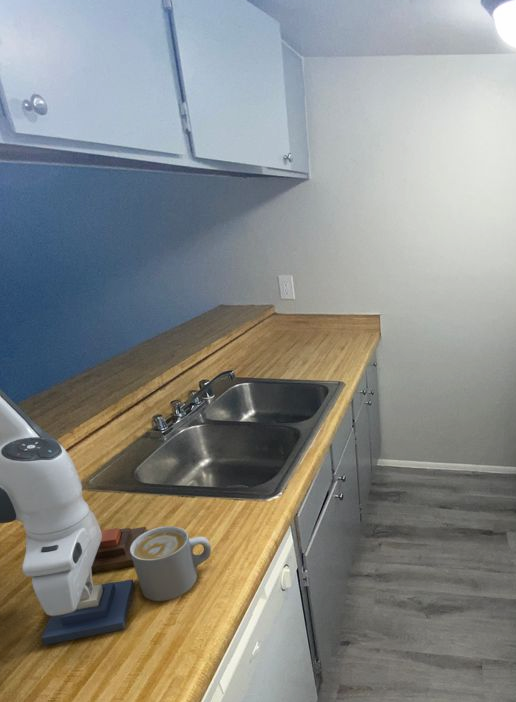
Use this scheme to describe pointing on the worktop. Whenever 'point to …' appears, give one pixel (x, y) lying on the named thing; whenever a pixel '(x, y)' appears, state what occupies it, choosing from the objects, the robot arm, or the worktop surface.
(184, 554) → the coffee mug
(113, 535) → the red square button
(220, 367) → the worktop surface
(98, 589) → the white square button cap
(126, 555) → the brown stepped button base
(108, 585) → the blue stepped button base
